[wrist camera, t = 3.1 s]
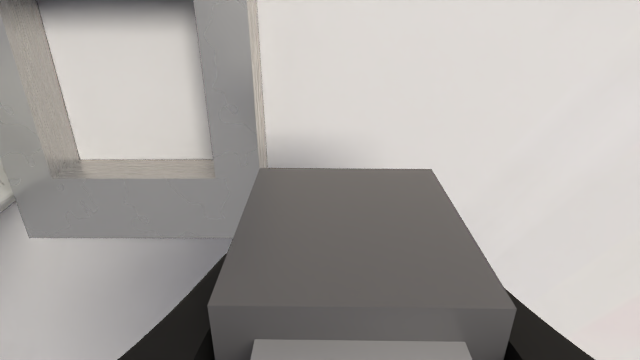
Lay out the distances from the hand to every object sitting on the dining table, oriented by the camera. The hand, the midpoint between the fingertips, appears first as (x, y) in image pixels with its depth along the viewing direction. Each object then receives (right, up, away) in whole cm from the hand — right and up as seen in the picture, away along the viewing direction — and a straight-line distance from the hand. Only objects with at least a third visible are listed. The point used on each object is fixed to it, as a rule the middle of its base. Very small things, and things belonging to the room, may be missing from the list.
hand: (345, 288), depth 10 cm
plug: (0, +1, +2) cm, 2 cm away
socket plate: (-8, +7, +6) cm, 12 cm away
